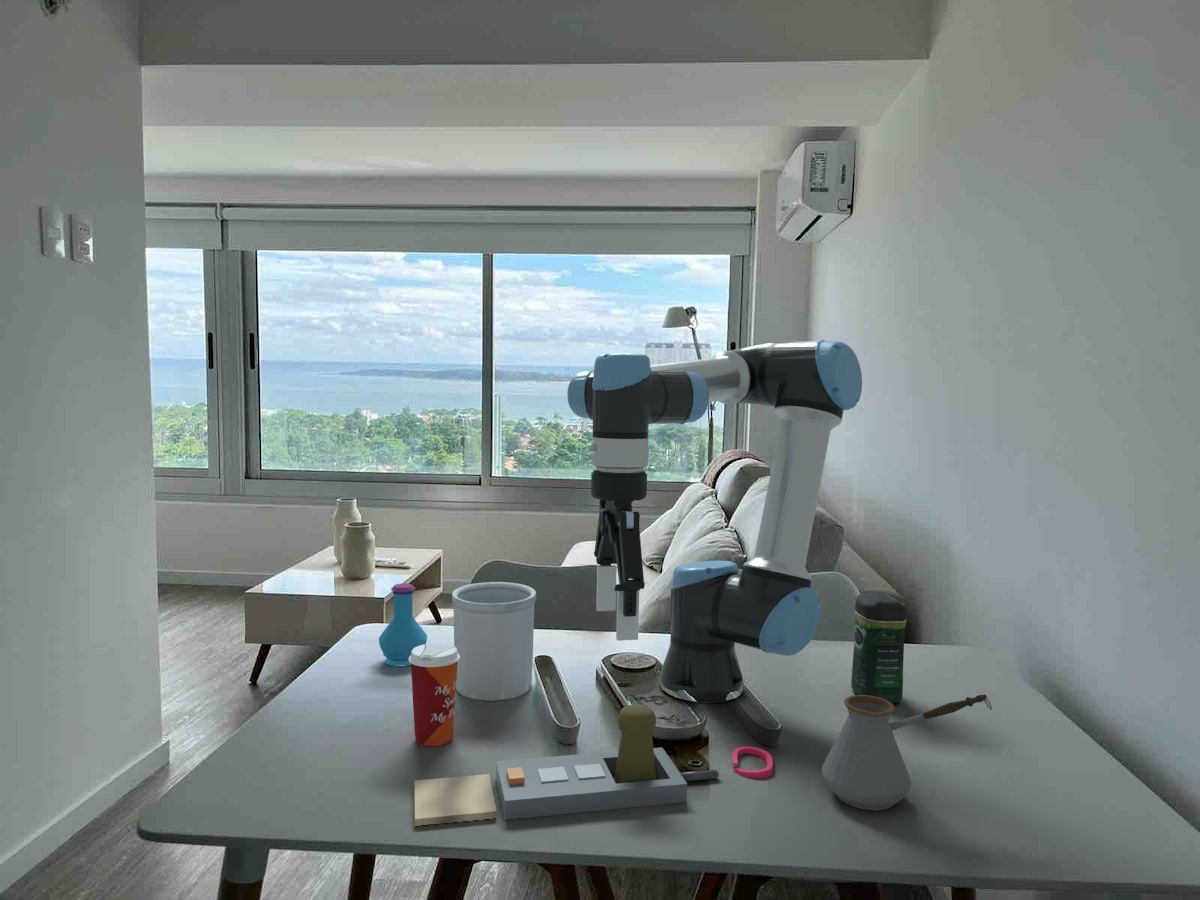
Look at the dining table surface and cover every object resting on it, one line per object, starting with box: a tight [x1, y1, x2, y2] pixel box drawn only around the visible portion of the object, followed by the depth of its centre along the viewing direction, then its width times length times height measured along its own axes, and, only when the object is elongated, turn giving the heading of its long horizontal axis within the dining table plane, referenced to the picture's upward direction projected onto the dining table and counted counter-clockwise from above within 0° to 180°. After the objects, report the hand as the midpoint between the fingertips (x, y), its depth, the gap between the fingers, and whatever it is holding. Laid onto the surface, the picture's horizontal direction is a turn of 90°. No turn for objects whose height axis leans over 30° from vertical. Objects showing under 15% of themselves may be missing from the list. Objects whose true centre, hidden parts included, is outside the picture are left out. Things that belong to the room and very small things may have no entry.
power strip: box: [495, 747, 720, 821], centre depth 111 cm, size 31×11×3 cm, turn 103°
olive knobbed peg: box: [613, 704, 658, 784], centre depth 112 cm, size 6×6×11 cm
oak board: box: [414, 773, 497, 827], centre depth 106 cm, size 10×10×1 cm
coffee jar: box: [850, 590, 908, 704], centre depth 146 cm, size 10×8×19 cm
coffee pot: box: [821, 694, 993, 811], centre depth 109 cm, size 21×12×15 cm, turn 84°
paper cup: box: [409, 642, 460, 747], centre depth 125 cm, size 8×8×14 cm
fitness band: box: [731, 746, 774, 779], centre depth 119 cm, size 8×6×2 cm
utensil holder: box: [451, 581, 537, 702], centre depth 147 cm, size 15×15×18 cm
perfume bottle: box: [378, 582, 428, 665], centre depth 160 cm, size 9×9×15 cm
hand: (615, 624), depth 111 cm, fingers open, 13 cm apart
